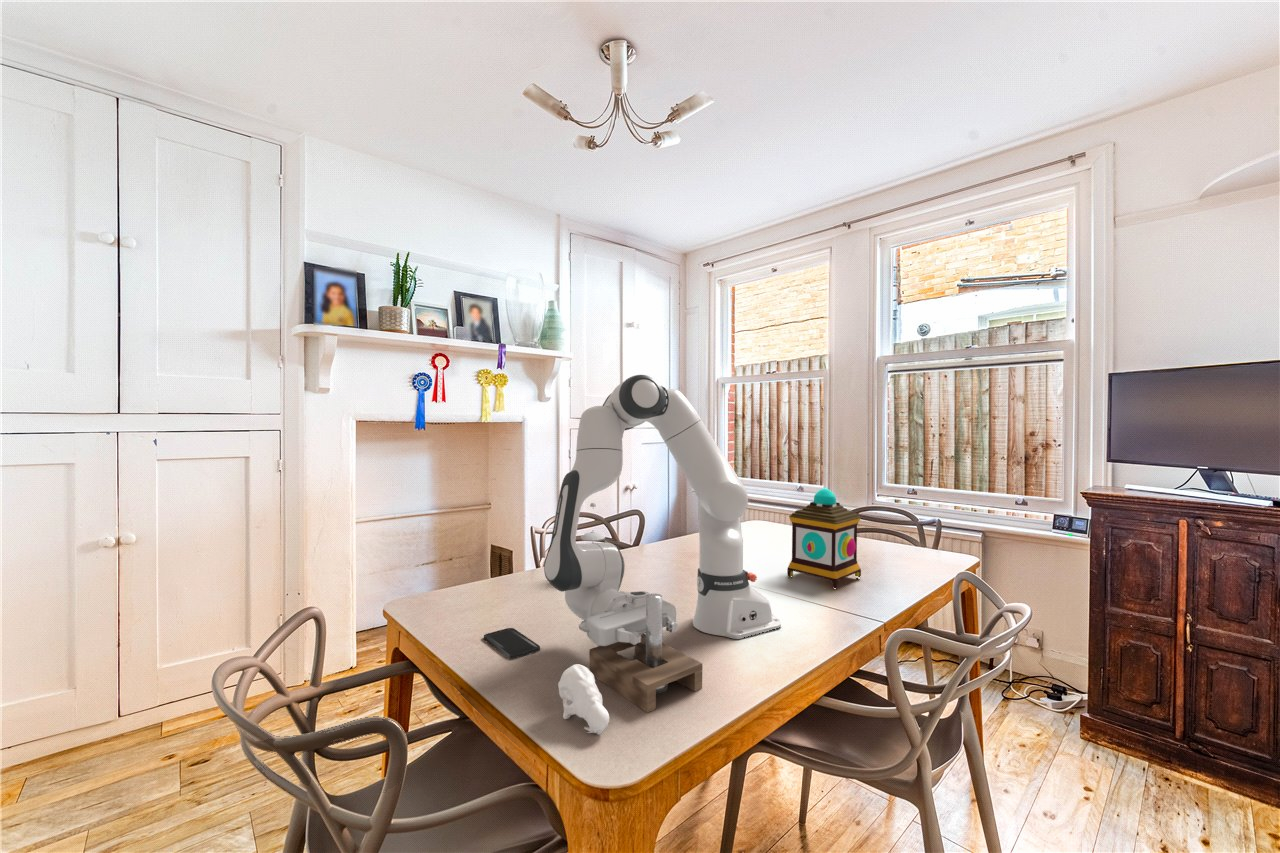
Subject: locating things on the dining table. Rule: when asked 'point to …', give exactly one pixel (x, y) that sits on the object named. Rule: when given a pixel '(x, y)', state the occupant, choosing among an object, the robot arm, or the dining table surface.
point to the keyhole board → (643, 671)
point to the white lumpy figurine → (583, 698)
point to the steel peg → (654, 633)
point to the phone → (511, 643)
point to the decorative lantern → (824, 539)
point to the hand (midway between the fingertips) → (657, 633)
